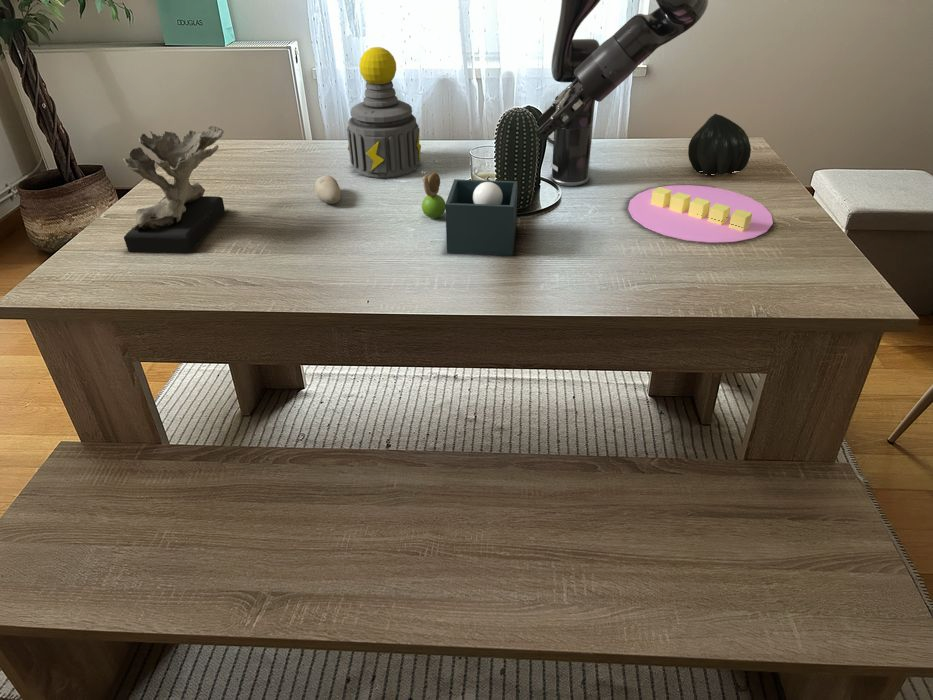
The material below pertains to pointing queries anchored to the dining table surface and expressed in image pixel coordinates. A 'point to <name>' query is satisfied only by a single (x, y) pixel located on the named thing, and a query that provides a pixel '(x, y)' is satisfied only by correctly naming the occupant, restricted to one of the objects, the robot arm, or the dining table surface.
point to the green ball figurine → (432, 196)
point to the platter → (700, 213)
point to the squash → (719, 147)
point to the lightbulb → (488, 194)
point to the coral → (174, 193)
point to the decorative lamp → (382, 123)
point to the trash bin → (480, 220)
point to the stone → (328, 189)
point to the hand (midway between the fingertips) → (540, 129)
